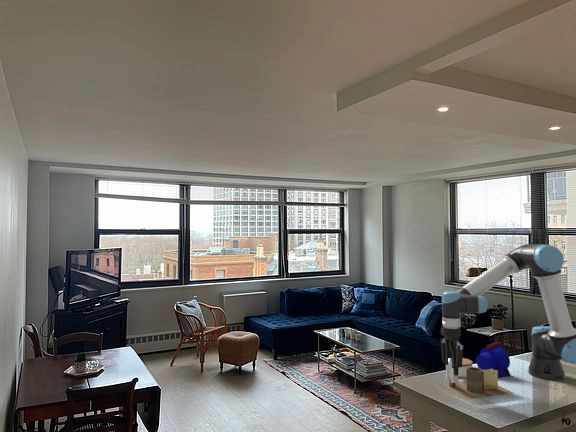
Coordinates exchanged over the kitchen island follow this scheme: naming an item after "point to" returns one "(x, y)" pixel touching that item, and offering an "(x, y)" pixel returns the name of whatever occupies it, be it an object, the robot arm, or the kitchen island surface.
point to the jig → (474, 386)
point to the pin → (450, 373)
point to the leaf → (490, 380)
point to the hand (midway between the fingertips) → (452, 380)
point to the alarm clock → (494, 359)
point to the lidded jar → (464, 367)
